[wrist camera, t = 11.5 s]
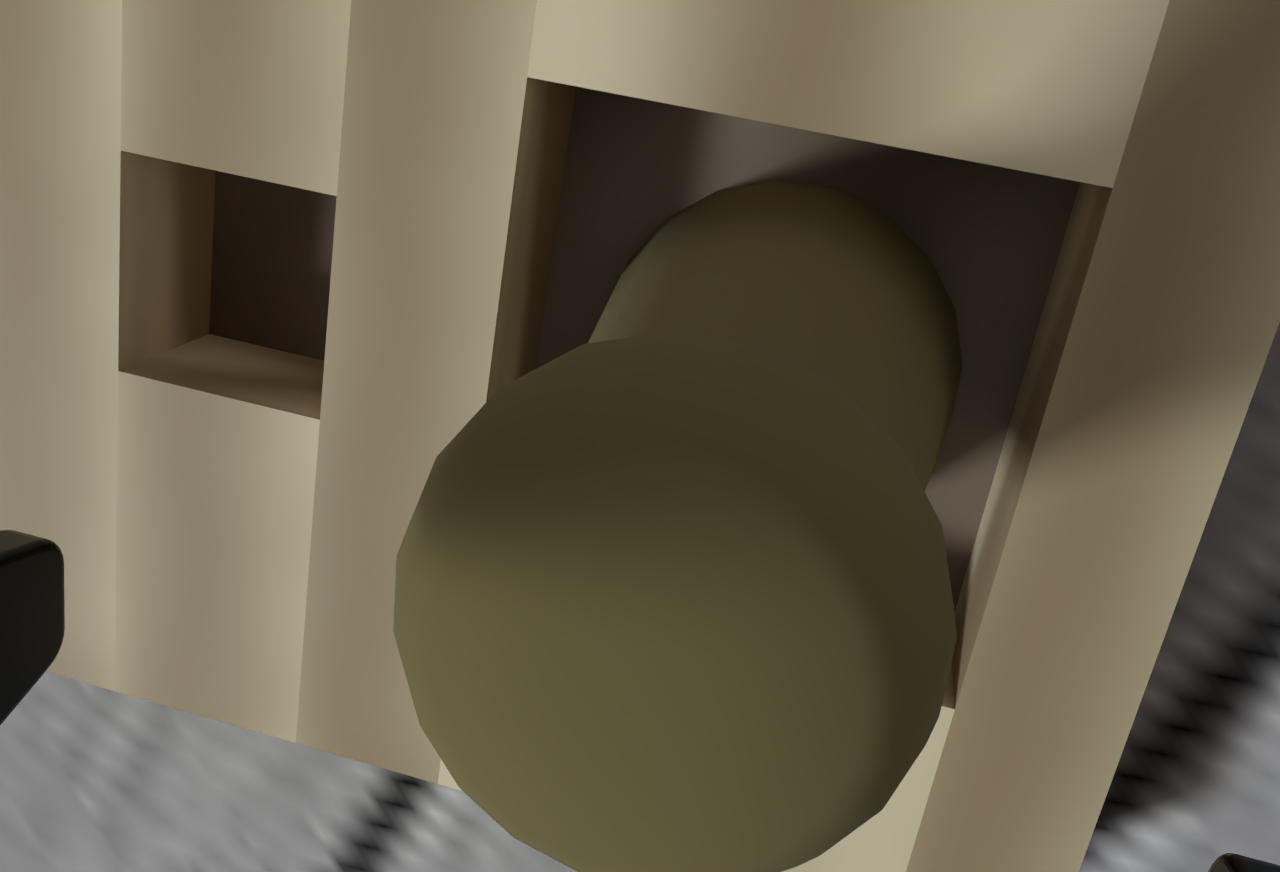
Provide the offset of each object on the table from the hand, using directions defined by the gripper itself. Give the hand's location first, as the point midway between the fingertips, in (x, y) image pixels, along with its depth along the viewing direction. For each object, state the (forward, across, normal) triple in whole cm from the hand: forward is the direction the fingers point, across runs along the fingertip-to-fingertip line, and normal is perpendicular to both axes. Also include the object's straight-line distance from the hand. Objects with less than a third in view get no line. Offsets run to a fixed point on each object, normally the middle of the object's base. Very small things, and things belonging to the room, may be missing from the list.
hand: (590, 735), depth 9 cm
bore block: (+12, +3, 0) cm, 12 cm away
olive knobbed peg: (+12, 0, 0) cm, 12 cm away
